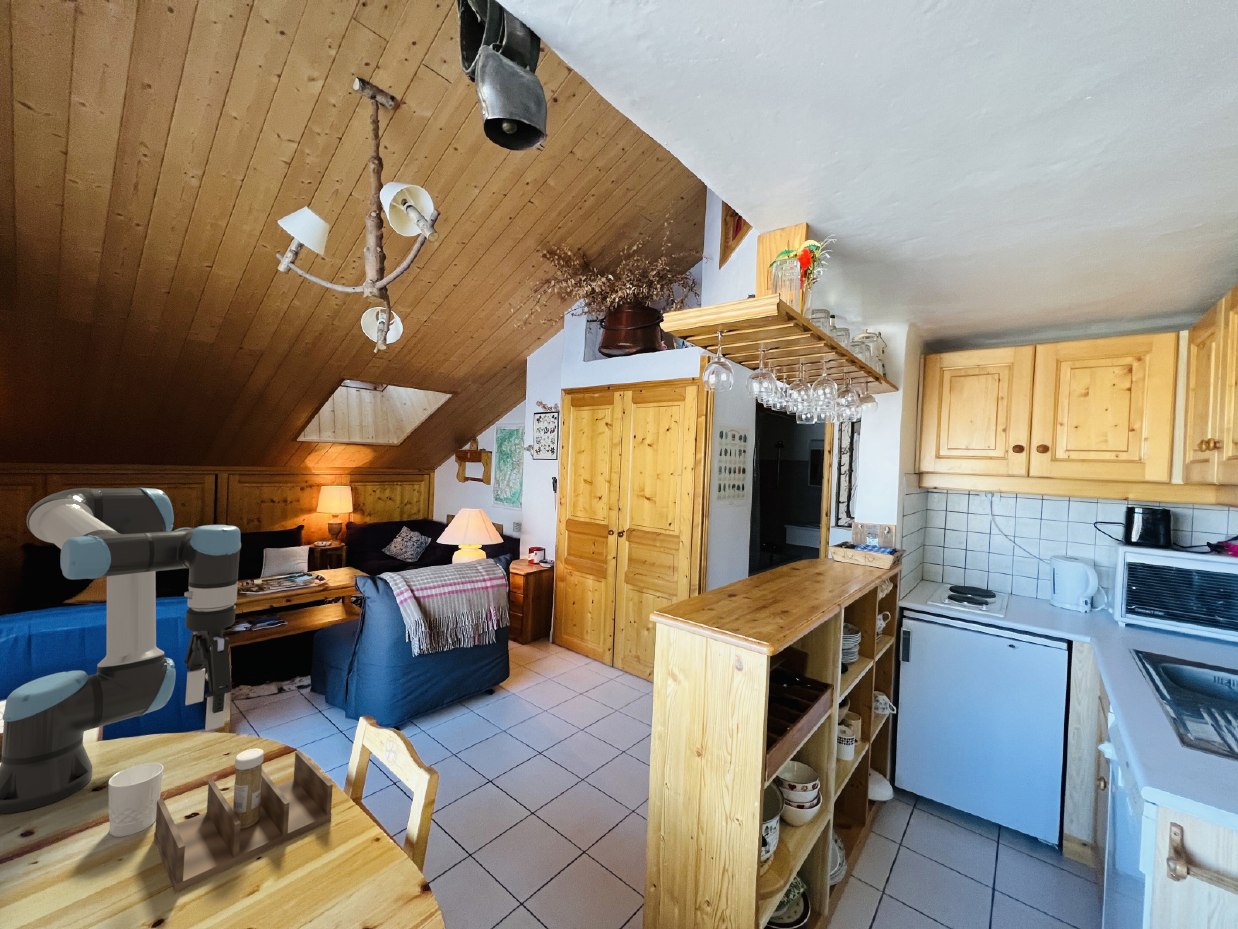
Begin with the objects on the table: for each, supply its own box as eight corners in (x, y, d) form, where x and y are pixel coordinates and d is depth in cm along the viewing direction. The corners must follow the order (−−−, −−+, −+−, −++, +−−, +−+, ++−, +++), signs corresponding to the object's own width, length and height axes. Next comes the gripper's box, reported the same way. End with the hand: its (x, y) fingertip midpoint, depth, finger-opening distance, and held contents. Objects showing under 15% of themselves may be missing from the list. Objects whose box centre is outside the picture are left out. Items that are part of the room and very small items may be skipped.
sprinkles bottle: (263, 821, 101) (267, 753, 102) (236, 834, 98) (240, 763, 98) (254, 811, 104) (258, 745, 104) (227, 823, 100) (231, 754, 101)
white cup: (126, 843, 96) (129, 789, 96) (94, 835, 98) (97, 782, 98) (170, 816, 104) (173, 766, 104) (140, 808, 105) (143, 760, 106)
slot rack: (154, 840, 97) (156, 800, 97) (297, 783, 116) (299, 750, 116) (175, 893, 86) (178, 848, 86) (331, 821, 105) (333, 784, 105)
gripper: (170, 595, 104) (163, 698, 104) (206, 626, 89) (198, 747, 89) (215, 589, 110) (208, 687, 110) (257, 617, 95) (249, 732, 95)
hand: (204, 714), depth 100 cm, fingers open, 13 cm apart
